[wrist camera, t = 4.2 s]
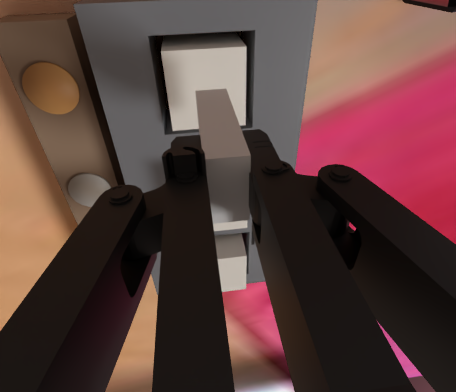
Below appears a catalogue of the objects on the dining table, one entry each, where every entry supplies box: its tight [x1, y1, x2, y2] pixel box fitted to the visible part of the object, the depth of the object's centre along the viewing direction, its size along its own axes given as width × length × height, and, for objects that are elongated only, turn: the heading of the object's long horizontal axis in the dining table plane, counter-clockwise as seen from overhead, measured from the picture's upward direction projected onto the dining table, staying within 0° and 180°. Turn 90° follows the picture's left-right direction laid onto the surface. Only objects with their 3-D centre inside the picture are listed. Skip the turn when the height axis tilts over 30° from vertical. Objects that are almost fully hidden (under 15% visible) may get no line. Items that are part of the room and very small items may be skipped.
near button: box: [161, 32, 247, 131], centre depth 19 cm, size 4×4×4 cm
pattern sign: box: [0, 13, 125, 225], centre depth 24 cm, size 22×4×3 cm, turn 2°
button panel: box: [73, 0, 318, 295], centre depth 24 cm, size 24×12×4 cm, turn 1°
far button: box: [215, 233, 247, 292], centre depth 27 cm, size 4×4×4 cm
